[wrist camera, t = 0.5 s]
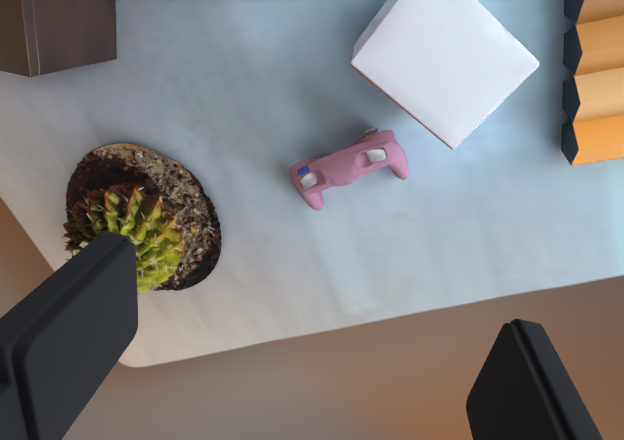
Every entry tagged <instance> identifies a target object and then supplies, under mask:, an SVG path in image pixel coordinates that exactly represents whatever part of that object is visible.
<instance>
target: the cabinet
mask: <svg viewBox="0 0 624 440" xmlns="http://www.w3.org/2000/svg"><path fill="white" fill-rule="evenodd" d="M114 59H116V15H115V0H0V70H1V71H5V72H10V73H14V74H19V75H23V76H28V77H33V76H38V75H42V74H47V73H52V72H57V71H61V70H66V69H71V68H76V67H80V66H85V65H90V64H95V63H99V62H104V61H109V60H114Z"/></svg>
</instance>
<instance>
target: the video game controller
mask: <svg viewBox="0 0 624 440" xmlns="http://www.w3.org/2000/svg"><path fill="white" fill-rule="evenodd" d="M377 130H378V129H377V128H370V129H368V130H366V131H365V133H364V135H367V136H366V137H365V138H363V139H361V140H359V141H357V142H356V143H355V144H354V145H353V146H350V147H347V148H345V149H342V150H339V151H337V152H334V153H332V154H329V155H327V156H324V157H322V156H321V157H316V158H311V159H308V160H305V161H302V162H299V163H297V164H295V165H293V166H292V167H290V168H289V173H290V177H291V181H292V183H293V185H294V186H295V188H296V190H297V191H298V193H299V194H300V195H301V196H302V198H303V199H304V200H305V201H306V202H307V203H308V204H309V206H311V207H312V208H313V209H315V210H321V209H322V208H323V199H322V194H321V191H322V190H324V189H327V188H329V187H333V186H344V185H348V184H350V183H352V182H354V181H356V180H357V179H359V178H360V177H361V176H362V175H365V174H367V173H370V172H373V171H376V170H378V169H380V168H383V167H385V166H389V167H390V168H391V170H392V171H393V172H394V174H395V175H396V176H397V177H398V178H400V179H402V180H405V179H407V177H408V175H409V167H408V163H407V159H406V156H405V153H404V151H403V150H402V148H401V146H400V145H399V143H398V142H397V140H396V139H395V136H394V133H393V131H392V130H386V131H382V132H376V131H377Z"/></svg>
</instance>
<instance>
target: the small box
mask: <svg viewBox="0 0 624 440" xmlns="http://www.w3.org/2000/svg"><path fill="white" fill-rule="evenodd" d="M350 65H351V66H352V67H353V68H355V69H356V70H357V71H358V72H359V73H360V74H362V75H363V76H364V77H365V78H366V79H368V80H369V81H370V82H371V83H372V84H374V85H375V86H376V87H377V88H378V89H379V90H381V91H382V92H383V93H384V94H385V95H387V96H388V97H389V98H390V99H392V100H393V101H394V102H395V103H396V104H398V105H399V106H400V107H401V108H402V109H404V110H405V111H406V112H407V113H408V114H409V115H411V116H412V117H413V118H414V119H416V120H417V121H418V122H419V123H421V124H422V125H423V126H424V127H425V128H427V129H428V130H429V131H430V132H431V133H433V134H434V135H435V136H436V137H437V138H438V139H440V140H441V141H442V142H443V143H445V144H446V145H447V146H448V147H450V148H451V149H452V150H454V149H455V148H456V147H457V146H458V145H459V144H460V143H461V142H462V141H463V140H464V139H465V138H466V137H467V136H468V135H469V134H470V133H472V132H473V131H474V130H475V129H476V128H477V127H478V126H479V125H480V124H481V123H482V122H483V121H484V120H485V119H486V118H487V117H488V116H489V115H490V114H491V113H492V112H493V111H494V110H495V109H496V108H497V107H498V106H499V105H500V104H501V103H502V102H503V101H504V100H505V99H506V98H507V97H508V96H509V95H510V94H511V93H512V92H513V91H514V90H515V89H516V88H517V87H518V86H519V85H520V84H521V83H522V82H523V81H524V80H525V79H526V78H527V77H528V76H529V75H530V74H532V73H533V72H534V71H535V70H536V69H537V68H538V67H539V61H538V60H537V59H536V58H535V57H534V56H533V55H532V54H531V53H530V52H529V51H528V50H527V49H526V48H525V47H524V46H523V45H522V44H521V43H520V42H519V41H518V40H517V39H516V38H515V37H514V36H513V35H512V34H511V33H510V32H509V31H508V30H507V29H505V28H504V27H503V26H502V25H501V24H500V23H499V22H498V21H497V20H496V19H495V18H494V17H493V15H492V14H491V13H490V12H489V11H488V10H487V9H486V8H484V7H483V6H482V5H481V4H480V3H479V2H478V1H477V0H387V1H386V2H385V3H384V5H383V6H382V7H381V9H380V10H379V11H378V13H377V14H376V15H375V17H374V18H373V19H372V21H371V22H370V23H369V25H368V26H367V27H366V29H365V30H364V31H363V33H362V34H361V35H360V37H359V38H358V39H357V41H356V42H355V45H354V49H353V53H352V57H351V61H350Z"/></svg>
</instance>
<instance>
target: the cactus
mask: <svg viewBox="0 0 624 440" xmlns="http://www.w3.org/2000/svg"><path fill="white" fill-rule="evenodd" d="M77 165H78V167H77V169H76V170H75V172H74V173H73V175H72V176H71V178H70V181H69V183H68V187H67V194H66V201H67V202H66V206H67V208H66V209H65V210H66V211H67V218H68V222H67V223H65V224H63V225H64V226H63V227H64V228H65V230H66V231H67V232H68V233H67V234H64V237H68V238H70V239H71V240H70V241H68V242H64V243H67V244H68V245H67V246H66V245H65V246H66V249H65V251H70V252H71V253H72V257H73V256H75V255H76V254H77V253H78V252H79V251H80V250H82V249H83V248H84V247H85V246H86V245H88V244H89V243H90V242H91V241H92V240H93V239H95V238H96V237H97V236H98V235H99V234H101V233H102V232H105V231H107V232H112V233H116V234H121V235H126V236H128V237H129V239H130V242H131V243H134V244H135V246H136V264H137V291H147V290H148V289H151V290H154V291H157V290H182V289H185V288H188V287H191V286H194V285H196V284H197V283H199V282H201V281H202V280H204V279H205V278H206V277H207V276H208V275H209V274H210V273H211V272H212V270H213V269H214V267H215V266H216V264H217V262H218V259H219V256H220V252H221V246H222V244H221V230H220V223H219V222H218V217H217V214H216V212H215V211H214V209H215V207H214V206H213V203H212V202H211V200H210V198H209V197H207V196H206V194H205V193H204V192H203V187H202V186H201V184H200V182H199V181H198V180H197V179H196V178H195V177H194V176H193V174H192V173H191V172H190V171H188V170H187V169H185V168H184V167H183V165H181V164H180V163H179V162H176V161H174V160H171V159H169V158H166V157H164V156H162V155H160V154H159V153H157V152H155V151H154V150H150V149H148V148H146V147H141V146H139V145H135V144H129V143H126V144H125V143H118V144H111V145H106V146H103V147H99V148H98V149H96V150H93V151H92V152H90V153H89V154H87V155H86V156H85V157H84V158H83V160H82V161H81V162H80V163H78V164H77ZM62 238H63V237H62ZM60 242H61V241H60ZM66 260H70V259H66ZM137 294H138V293H137ZM145 295H146V294H145Z"/></svg>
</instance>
